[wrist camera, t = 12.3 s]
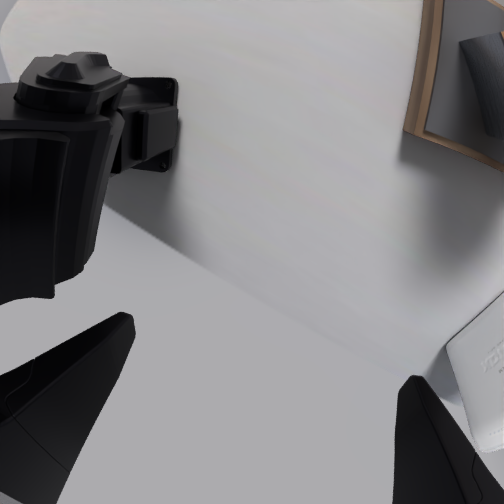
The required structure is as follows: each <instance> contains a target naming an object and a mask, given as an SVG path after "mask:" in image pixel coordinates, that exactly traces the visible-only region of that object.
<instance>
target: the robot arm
mask: <svg viewBox="0 0 504 504" xmlns="http://www.w3.org/2000/svg"><path fill="white" fill-rule="evenodd" d="M111 68H112V67H111V66H110V65H109V62H108V59H107V56H106V55H105V54H102V53H98V52H74V53H72V54H70V55H69V56H66V55H60V54H55V55H54V56H53V57H35V58H34V59H33V61H32V62H31V63H30V64H29V66H28V67H27V68H26V69H25V71H24V72H23V73H22V75H21V76H20V79H19V82H18V83H3V84H0V305H2V304H5V303H7V302H10V301H13V300H16V299H23V298H31V297H34V298H45V299H52V298H54V296H55V285H56V284H58V283H60V282H63V281H66V280H68V279H71V278H74V277H75V276H76V275H78V274H79V273H81V272H82V271H83V269H84V265H85V264H86V263H87V261H88V259H89V258H90V256H91V255H92V253H93V251H94V247H95V241H96V236H97V230H98V225H99V220H100V215H101V210H102V206H103V201H104V197H105V192H106V188H107V184H108V180H109V178H110V177H112V176H114V175H116V174H119V173H121V172H123V171H125V170H127V169H129V168H133V169H141V170H148V171H155V172H166V171H168V170H169V169H170V168H171V163H172V148H173V147H174V146H175V144H176V131H177V119H178V109H177V107H176V98H177V88H178V82H177V80H176V79H174V78H165V77H143V78H130V77H127V76H125V75H122V73H120V72H118V71H116V70H113V69H111ZM168 82H171V83H172V86H171V88H168V87H167V84H168ZM162 162H164V163H165V165H166V167H165V168H164V167H163V166H162ZM135 335H136V332H135V326H134V319H133V316H132V315H131V314H128V313H125V312H118V313H117V314H115V315H113V316H111V317H109V318H108V319H105V320H104V321H102V322H100V323H98V324H96V325H94V326H93V327H91V328H89V329H87V330H85V331H83V332H82V333H80V334H78V335H76V336H74V337H72V338H70V339H69V340H67V341H65V342H63V343H61V344H60V345H58V346H56V347H54V348H52V349H50V350H49V351H47V352H45V353H43V354H41V355H40V356H38V357H36V358H35V360H34V359H32V360H30V361H28V362H27V363H25V364H23V365H21V366H19V367H17V368H15V369H13V370H11V371H9V372H7V373H4V374H2V375H0V504H56V503H57V501H58V498H59V496H60V494H61V492H62V490H63V488H64V485H65V483H66V481H67V479H68V477H69V475H70V472H71V470H72V468H73V466H74V464H75V462H76V460H77V457H78V455H79V453H80V451H81V449H82V447H83V445H84V443H85V441H86V439H87V437H88V435H89V433H90V431H91V429H92V427H93V425H94V423H95V421H96V420H97V417H98V416H99V414H100V412H101V410H102V408H103V406H104V404H105V402H106V400H107V399H108V397H109V395H110V393H111V391H112V389H113V387H114V385H115V384H116V382H117V380H118V378H119V376H120V373H121V371H122V368H123V366H124V364H125V361H126V359H127V356H128V354H129V351H130V349H131V347H132V344H133V342H134V339H135ZM392 504H504V490H503V488H502V487H501V486H500V484H499V483H498V482H497V481H496V479H495V478H494V477H493V475H492V474H491V473H490V471H489V470H488V469H487V467H486V466H485V464H484V463H483V461H482V460H481V458H480V457H479V455H478V454H477V452H475V449H474V448H473V446H472V445H471V443H470V442H469V440H468V439H467V438H466V436H465V434H464V433H463V431H462V430H461V429H460V427H459V426H458V424H457V423H456V421H455V420H454V418H453V417H452V416H451V414H450V413H449V411H448V410H447V409H446V408H445V406H444V404H443V403H442V402H441V400H440V399H439V397H438V396H437V395H436V393H435V392H434V391H433V389H432V388H431V387H430V385H429V384H428V382H427V381H426V380H425V378H424V377H423V376H418V375H412V376H410V377H409V378H408V380H407V381H406V382H405V383H404V385H403V386H402V387H401V389H400V390H399V393H398V400H397V416H396V426H395V461H394V487H393V502H392Z"/></svg>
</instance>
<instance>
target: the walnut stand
mask: <svg viewBox="0 0 504 504" xmlns="http://www.w3.org/2000/svg"><path fill="white" fill-rule="evenodd" d="M503 31H504V7H503V6H501V5H500V4H498V3H497V2H495V1H493V0H424V1H423V12H422V22H421V31H420V39H419V46H418V53H417V60H416V66H415V72H414V78H413V84H412V89H411V94H410V99H409V104H408V109H407V113H406V118H405V123H404V127H403V130H404V131H406V132H409V133H411V134H413V135H416V136H418V137H421V138H424V139H427V140H430V141H432V142H435V143H438V144H440V145H443V146H445V147H448V148H450V149H453V150H455V151H458V152H460V153H462V154H465V155H467V156H469V157H472V158H474V159H476V160H478V161H481V162H483V163H485V164H487V165H489V166H491V167H493V168H495V169H497V170H500V171H502V172H504V141H501V140H499V139H496V138H493V137H491V136H488V135H486V132H485V127H484V123H483V118H482V114H481V110H480V106H479V102H478V98H477V95H476V91H475V88H474V84H473V81H472V78H471V75H470V71H469V68H468V66H467V63H466V60H465V57H464V54H463V51H462V49H461V46H460V44H459V41H463V40H467V39H471V38H475V37H479V36H484V35H488V34H493V33H498V32H503Z"/></svg>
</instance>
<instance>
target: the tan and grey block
mask: <svg viewBox="0 0 504 504" xmlns="http://www.w3.org/2000/svg"><path fill="white" fill-rule="evenodd" d="M459 44H460V46H461V49H462V51H463V54H464V57H465V60H466V63H467V66H468V68H469V71H470V75H471V78H472V81H473V84H474V88H475V91H476V95H477V98H478V102H479V106H480V110H481V114H482V118H483V123H484V127H485V132H486V135H488V136H491V137H493V138H496V139H499V140H501V141H504V31H503V32H498V33H493V34H488V35H484V36H479V37H475V38H471V39H467V40H463V41H459Z"/></svg>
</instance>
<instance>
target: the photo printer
mask: <svg viewBox="0 0 504 504" xmlns="http://www.w3.org/2000/svg"><path fill="white" fill-rule="evenodd" d="M446 349H447V354H448V357H449V360H450V363H451V366H452V369H453V372H454V375H455V378H456V381H457V384H458V388H459V391H460V394H461V398H462V401H463V405H464V408H465V412H466V415H467V419H468V423H469V427H470V432H471V435H472V437H473V439H474V441H475V444H476V445H477V447H478V449H479V450H480V451H483V452H484V453H487V452H493V451H497V450H500V449H503V448H504V292H503V293H502V294H501V295H500V296H499V297H498V298H497V299H496V300H495V301H494V302H493V303H492V304H491V305H490V306H488V307H487V308H486V309H485V310H484V311H483V312H482V313H481V314H480V315H479V316H478V317H476V318H475V319H474V320H473V321H472V322H471V323H470V324H469V325H467V326H466V327H465V328H464V329H463V330H462V331H461V332H460V333H458V334H457V335H456V336H455V337H454V338H453V339H452V340H451V341H450V342H449V343H448V344H447V345H446Z"/></svg>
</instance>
